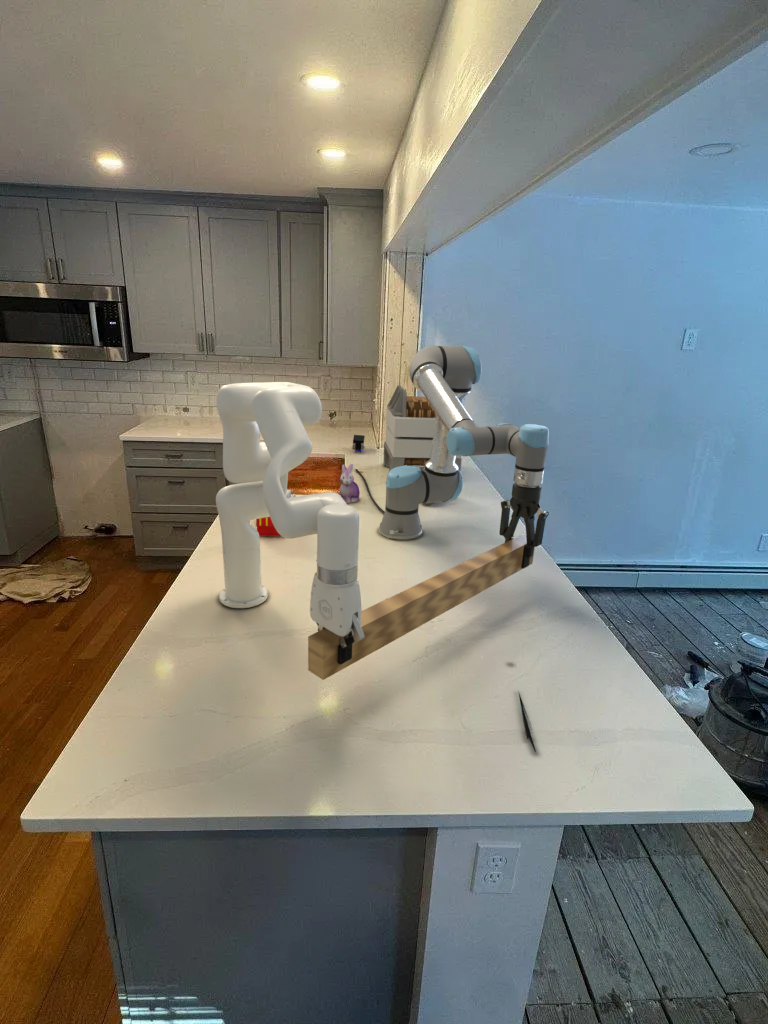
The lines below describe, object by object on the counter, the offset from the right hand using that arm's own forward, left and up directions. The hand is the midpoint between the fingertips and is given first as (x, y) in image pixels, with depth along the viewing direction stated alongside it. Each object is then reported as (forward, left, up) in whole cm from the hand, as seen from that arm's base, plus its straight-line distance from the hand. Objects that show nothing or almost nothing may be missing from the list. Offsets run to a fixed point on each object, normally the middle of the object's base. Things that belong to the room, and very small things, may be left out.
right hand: (516, 563), depth 158 cm
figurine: (-91, +11, -9) cm, 92 cm away
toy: (-86, -26, -9) cm, 90 cm away
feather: (+31, -38, -9) cm, 50 cm away
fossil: (-73, +42, -9) cm, 84 cm away
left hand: (+7, -67, +1) cm, 68 cm away
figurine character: (-156, +67, -9) cm, 170 cm away
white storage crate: (-105, +64, -9) cm, 123 cm away
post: (+4, -34, -1) cm, 34 cm away
